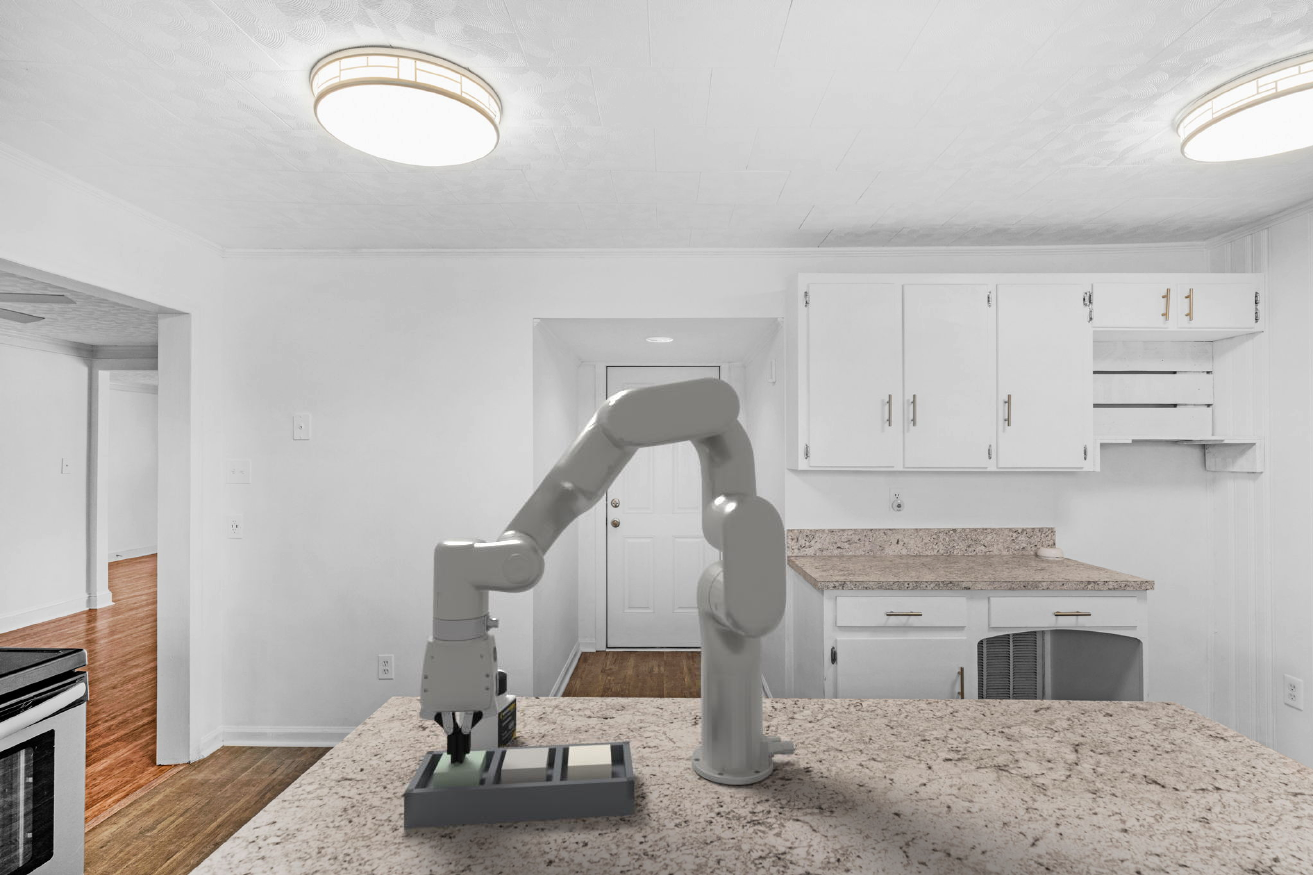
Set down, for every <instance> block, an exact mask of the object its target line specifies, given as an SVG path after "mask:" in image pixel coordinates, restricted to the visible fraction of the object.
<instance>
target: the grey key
mask: <svg viewBox="0 0 1313 875" xmlns="http://www.w3.org/2000/svg"><path fill="white" fill-rule="evenodd" d="M548 763H549V748H528V749H508V750H507V752H506V755H505V759H504V762H503V766H502V769H501V784H515V783H533V782H546V777H547V770H548Z"/></svg>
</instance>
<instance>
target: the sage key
mask: <svg viewBox="0 0 1313 875" xmlns="http://www.w3.org/2000/svg"><path fill="white" fill-rule="evenodd" d="M485 766H486V751H470V753H469V754H466V757H465V759H464V761H463V763H459V762H456V763H455V764H451V755H447V752H446V753H443V755H442V757H441V759H440V761H439V763H438V765H437V767H436V769H435V771H434V777H433V788H441V787H459V786H478V785H479V784H480V781H481V778H482V775H483V772H484V769H485Z"/></svg>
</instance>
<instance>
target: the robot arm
mask: <svg viewBox="0 0 1313 875" xmlns="http://www.w3.org/2000/svg"><path fill="white" fill-rule="evenodd" d="M740 405H741V403H740V399H739V395H738V394H737V392H736V390H735V389H734V387H733V386H731V385H730V383H728V382H727V381H724V380H723V379H719V378H717V377H704V378H703V377H702V378H701V377H700V378H696V379H689V380H684V381H677V382H670V383H665V384H657V385H651V386H643V387H636V388H628V389H625V390H621V391H619V392H617V393H616V394H615V393H614V394H613V395H612V396H610V397H608V398H607V399H605V400H604V402H603V403H602V404H601V405H600V406H599V408H597V410H596V411H595V413H594V414H593V415H592V416H591V418H590V419H589V420H588V422H587V423H586V424H585V425H584V427H583V428H582V429H581V431H580V432H579V433H578V435H577V436H576V437H575V439H574V440H573V441H572V443H570V445H569V446H568V447H567V449H566V450H565V451H564V453H563V454H562V455H561V456H560V458H559V459H558V460H557V461H556V462H555V464H554V465H553V467H552V468H551V469H550V470H549V471H548V473H547V474H546V476H545V477H544V478H543V479H542V481H541V482H540V484H539V485H538V487H537V488H535V490H534V492H533V493H532V494H531V496H530V497H529V498H528V499H527V501H526V502H525V503H524V504H523V506H522V507H521V508H520V509H519V511H518V512H517V513H516V514H515V516H513V518H512V520H510V522H509V523H508V525H507V526H506V527H505V529H504V530H503V531H502V533H500V534H499V536H498V538H497V539H496V541H494V542H486V541H485V540H484V539H481V538H478V537H477V538H476V537H475V538H474V537H455V538H449V539H443V540H442V541H439V542H438V543H437V544H436V546H435V547H434V551H433V582H432V583H433V584H432V585H433V589H432V590H433V591H432V592H433V593H432V594H433V596H432V600H433V601H432V602H433V603H432V634H431V635H429V636H428V638H427V643H426V645H425V646H426V647H425V651H424V656H423V664H422V672H421V680H420V681H421V682H420V698H419V702H420V710H419V713H418V715H419V718H420V719H423V720H429V721H435V723H436V724H437V725H438V726H440V728H442V730H443V732H444V733H445V735H446V750H447V755H451V764H455V763H456V762H459V763H463V761H464V759H465V757H466V754H469V753H470V750H471V729H472V728H473V727H474V726H475V725H476V724H477V723H478V722H479V721H480V720H481V719H486V718H489V717H493V716H496V715H497V713H498V711H499V707H498V703H497V699H496V697H497V695H498V669H499V668H498V667H499V666H498V664H499V663H498V652H497V645H496V644H497V643H496V638H495V633H493V632H489V631H491V629H497V628H499V625H500V622H499V621H500V619H499V618H498V617H496V618H495V617H493V616H491V615H490V611H489V608H490V607H489V598H490V596H489V594H490V592H489V591H491V592H499V593H507V594H518V593H524V592H527V591H530V590H532V589H533V588H535V587H536V586H537V585H538V584H539V583H540V581H541V580H542V579H543V576H544V573H545V567H546V566H545V565H546V563H545V558H544V557H545V556H546V554H547V553H548V551H549V550H550V549H551V547H552V546H553V545H554V543H555V542H556V541H557V539H558V538H559V537H560V536H561V535H562V533H563V532H564V531H565V530H566V529H567V528H568V526H570V524H572V523H573V522H574V520H576V519H577V518H578V517H580V516H581V515H582V514H584V513H586V512H589V511H590V510H591V509H592V508H593V507H595V505H597V504H598V503H599V502H600V501H601V499H602V498H603V497H604V495H605V494H606V493H607V491H608V490H609V488H611V486H612V485H613V483H614V481H615V480H616V479H617V477H618V476H619V475H620V474H621V473H622V471H623V470H624V468H625V467H626V466H627V464H628V463H629V462H630V461H631V460H632V458H633V457H634V456H635V455H636V453H637V452H638V450H639V449H641V448H650V447H657V446H664V445H665V446H666V445H672V444H676V443H682V442H688V441H689V442H690V443H691V444H692V445H693V447H694V449H695V451H696V452H697V456H698V460H699V464H700V475H701V476H700V478H701V529H702V530H701V531H702V534H703V537H704V539H705V540H706V542H707V543H708V544H709V545H710V546H711V547H712V548H714V549H715V550H718V551H719V552H722V556H721V558H722V560H716V561H714V562H712V563H711V564H709V565H708V566H707V567H706V568H704V571H703V572H702V573H701V575H700V577H699V579H698V582H697V586H696V606H697V607H696V608H697V615H698V622H699V623H698V624H699V634H700V700H701V701H700V713H701V716H700V717H701V718H700V721H701V722H700V726H701V727H700V728H701V730H700V732H701V737H700V738H701V740H700V741H701V743H700V744H701V745H700V746H698V747H696V749H695V750H694V751H693V752H692V754H691V766H692V769H693V770H694V771H695V772H696V773H697V774H698V775H699V776H701V777H702V778H704V779H707V780H709V781H712V782H715V783H718V784H723V785H733V786H739V785H741V786H742V785H743V786H744V785H750V784H755V783H758V782H760V781H761V782H762V781H763V780H766V779H767V778H768V777H769V776H771V774H772V773H773V771H774V759H773V758H774V757H775V755H776V756H778V755H781V756H784V755H785V756H786V755H787V756H789V755H794V754H795V747H794V746H795V745H794V742H793V741H792V740H782V738H781V736H780V735H777V736H776V735H773V736H766V735H765V733H764V732H763V731H764V730H763V729H764V725H763V721H764V720H763V718H764V717H763V716H764V714H763V711H764V710H763V645H762V644H763V642H762V638H764V637H767V636H769V635H770V634H772V633H774V631H776V629H777V628H778V627H779V625H780V624H781V622H782V620H783V617H784V614H785V610H786V605H787V559H786V558H787V552H786V551H787V550H786V547H787V546H786V531H785V527H784V523H783V520H782V517H781V515H780V513H779V511H778V510H777V508H776V507H775V506H774V505H773V504H772V503H771V502H770V501H769V500H767V499H765V498H764V497H761V496H758V495H757V479H756V468H755V467H756V466H755V456H754V455H755V454H754V450H753V446H752V442H751V440H750V437H749V435H748V433H747V431H746V430H745V428H744V427H743V425H742V424H741V422H740V421H739V420H738V418H739V415H740V410H741V406H740ZM459 712H464V718H463V724H462V726H461V728H459V723H458V719H457V713H459Z"/></svg>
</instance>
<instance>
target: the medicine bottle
mask: <svg viewBox="0 0 1313 875" xmlns="http://www.w3.org/2000/svg"><path fill="white" fill-rule="evenodd" d="M496 699H497V703H498V707H499V711H498V713H497V715H496V716H493V717H489V718H486V719H481V720H480V721H479V722H478V723H477V724H476V725H475V726H474V727H473V728H472V729H471V749H483V748H504V747H508V745H509V744H510V743H511V742H512V741H513V740H514V739H515V738H516V737H517V695H514V694H508V673H507V672H506V671H504V670H503V669H500V668H498V695H497V697H496ZM463 718H464V712H458V722H459V723H458V726H459V728H461V726H462V724H463Z"/></svg>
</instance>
